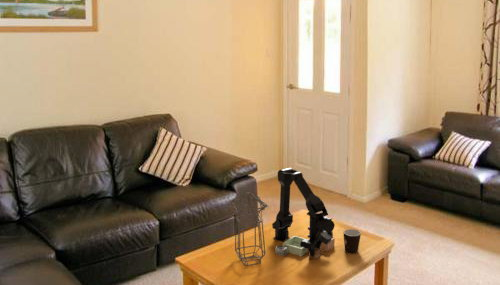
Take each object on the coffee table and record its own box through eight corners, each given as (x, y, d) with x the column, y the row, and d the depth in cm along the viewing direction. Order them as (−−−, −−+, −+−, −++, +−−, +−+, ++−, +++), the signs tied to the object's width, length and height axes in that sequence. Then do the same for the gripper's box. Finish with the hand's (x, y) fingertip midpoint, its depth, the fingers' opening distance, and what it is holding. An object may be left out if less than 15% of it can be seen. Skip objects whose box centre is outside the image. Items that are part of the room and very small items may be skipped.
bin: (282, 250, 257) (282, 243, 256) (294, 242, 265) (294, 235, 264) (301, 256, 250) (301, 249, 249) (312, 248, 259) (313, 241, 258)
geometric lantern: (239, 270, 237) (236, 199, 229) (231, 256, 252) (228, 189, 244) (271, 265, 241) (269, 195, 233) (261, 252, 256) (259, 186, 248)
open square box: (315, 248, 259) (315, 239, 258) (322, 243, 264) (322, 234, 263) (327, 251, 255) (327, 242, 253) (334, 246, 260) (334, 237, 259)
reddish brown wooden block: (275, 254, 253) (275, 247, 252) (279, 251, 256) (279, 244, 255) (283, 256, 250) (283, 250, 249) (287, 254, 253) (287, 247, 252)
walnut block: (309, 257, 249) (309, 249, 248) (313, 254, 252) (313, 246, 251) (316, 259, 247) (316, 251, 246) (320, 256, 250) (320, 248, 249)
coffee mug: (360, 255, 251) (361, 236, 248) (342, 253, 252) (343, 235, 250) (359, 245, 262) (360, 227, 259) (343, 243, 263) (343, 226, 261)
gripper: (320, 236, 234) (319, 266, 237) (339, 223, 248) (338, 252, 252) (299, 230, 240) (299, 260, 244) (319, 217, 255) (318, 246, 258)
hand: (314, 254), depth 249 cm, fingers closed on walnut block, 4 cm apart
